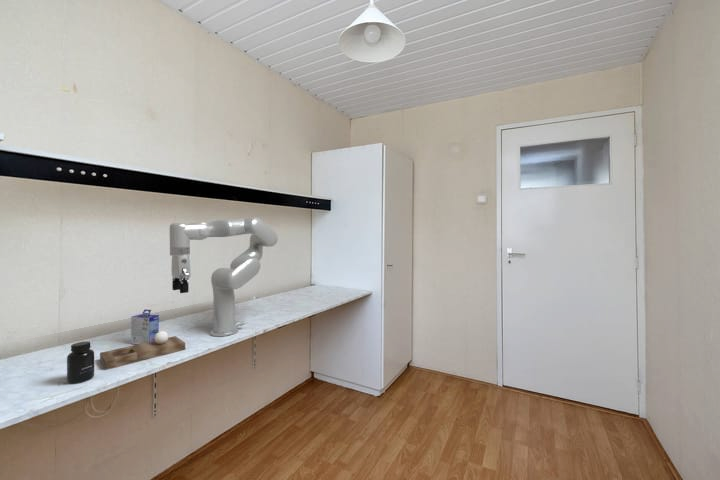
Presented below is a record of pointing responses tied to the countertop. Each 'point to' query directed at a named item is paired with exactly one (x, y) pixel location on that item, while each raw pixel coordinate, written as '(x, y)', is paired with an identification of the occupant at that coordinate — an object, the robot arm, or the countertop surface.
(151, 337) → the ink cartridge box
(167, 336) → the ball
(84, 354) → the supplement bottle
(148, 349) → the board
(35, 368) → the countertop surface
